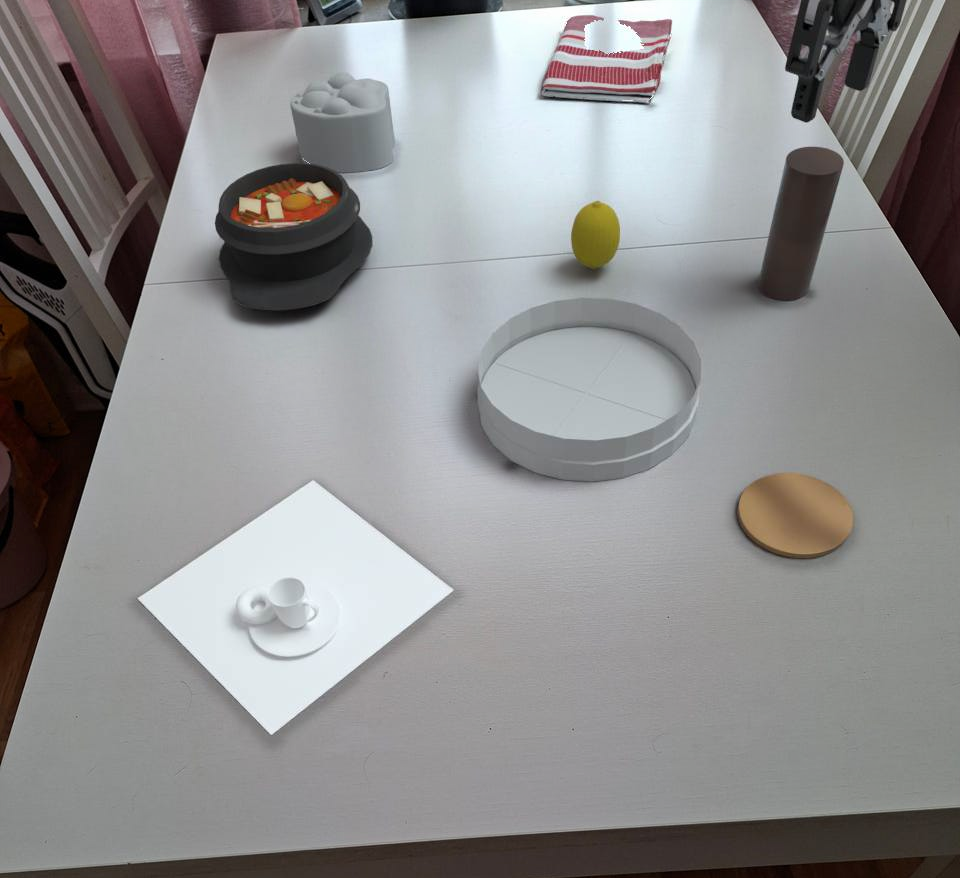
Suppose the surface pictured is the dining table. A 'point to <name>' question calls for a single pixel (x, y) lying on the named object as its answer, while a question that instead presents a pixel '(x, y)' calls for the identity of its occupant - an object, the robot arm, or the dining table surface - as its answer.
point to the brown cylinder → (799, 221)
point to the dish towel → (607, 64)
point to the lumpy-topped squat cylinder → (344, 124)
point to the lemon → (595, 234)
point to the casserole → (290, 236)
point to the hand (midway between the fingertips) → (829, 103)
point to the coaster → (795, 515)
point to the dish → (588, 388)
